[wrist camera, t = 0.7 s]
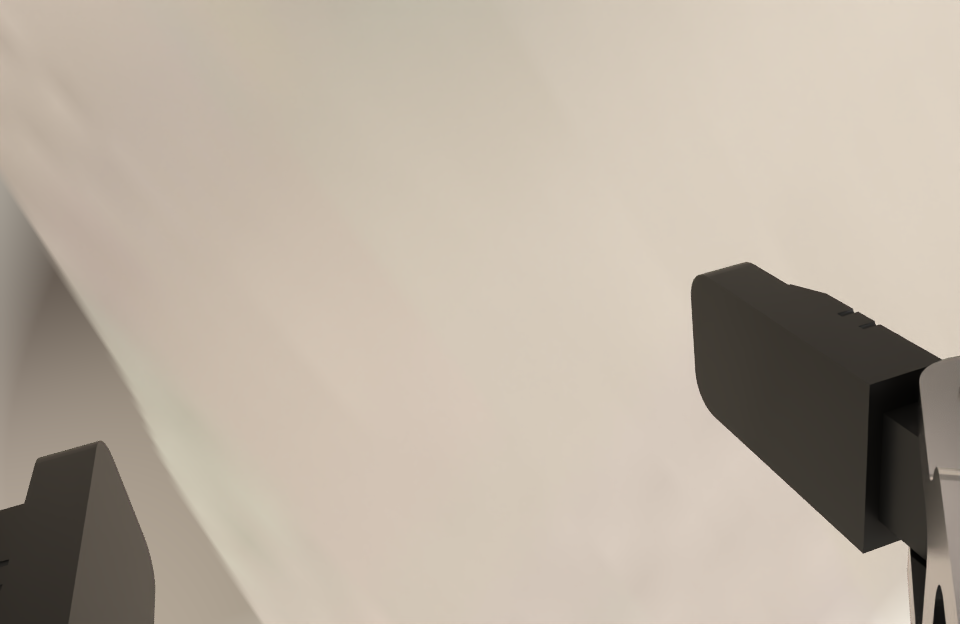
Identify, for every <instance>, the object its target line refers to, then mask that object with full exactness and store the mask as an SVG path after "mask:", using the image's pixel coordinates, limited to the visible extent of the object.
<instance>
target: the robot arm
mask: <svg viewBox="0 0 960 624" xmlns="http://www.w3.org/2000/svg"><path fill="white" fill-rule="evenodd" d="M691 304H692V321H693V338H694V355H695V372H696V379H697V384H698V388H699V391H700V394H701V396H702V399H703V401H704V403H705V405H706V406H707V408H708V409H709V411H710V412H711V413H712V415H713V416H714V417H715V418H716V419H718V420H719V421H720V422H721V423H722V424H723V425H724V426H725V427H726V428H727V429H728V430H730V431H731V432H732V433H733V434H734V435H735V436H736V437H737V438H738V439H739V440H740V441H742V442H743V443H744V444H745V445H746V446H747V447H748V448H749V449H750V450H751V451H752V452H753V453H755V454H756V455H757V456H758V457H759V458H760V459H761V460H762V461H763V462H764V463H765V464H767V465H768V466H769V467H770V468H771V469H772V470H773V471H774V472H775V473H776V474H777V475H778V476H780V477H781V478H782V479H783V480H784V481H785V482H786V483H787V484H788V485H789V486H790V487H792V488H793V489H794V490H795V491H796V492H797V493H798V494H799V495H800V496H801V497H802V498H803V499H805V500H806V501H807V502H808V503H809V504H810V505H811V506H812V507H813V508H814V509H815V510H817V511H818V512H819V513H820V514H821V515H822V516H823V517H824V518H825V519H826V520H827V521H828V522H830V523H831V524H832V525H833V526H834V527H835V528H836V529H837V530H838V531H839V532H840V533H842V534H843V535H844V536H845V537H846V538H847V539H848V540H849V541H850V542H851V543H852V544H853V545H855V546H856V547H857V548H858V549H859V550H860V551H861V552H862V553H866V552H869V551H872V550H874V549H877V548H880V547H883V546H885V545H888V544H891V543H894V542H896V541H899V540H902V541H903V542H905V543H906V544H907V545H908V546H909V549H908V565H907V577H908V591H909V606H910V621H911V624H960V356H956V357H951V358H947V359H943V360H942V359H940V358H938V357H936V356H935V355H933V354H931V353H929V352H928V351H926V350H924V349H922V348H921V347H919V346H917V345H915V344H914V343H912V342H910V341H908V340H907V339H905V338H903V337H901V336H900V335H898V334H896V333H894V332H893V331H891V330H889V329H887V328H886V327H884V326H882V325H877V326H876V325H875V321H873V320H872V319H870V318H868V317H866V316H865V315H863V314H861V313H859V312H856V313H854V311H853V309H852V308H851V307H849V306H847V305H845V304H844V303H842V302H840V301H838V300H837V299H835V298H833V297H831V296H830V295H828V294H825V293H822V292H818V291H814V290H810V289H806V288H803V287H799V286H795V285H791V284H790V285H788V284H786V283H784V282H783V281H781V280H779V279H778V278H776V277H774V276H772V275H771V274H769V273H767V272H766V271H764V270H762V269H761V268H759V267H757V266H756V265H754V264H752V263H749V262H744V263H740V264H737V265H733V266H730V267H726V268H722V269H719V270H715V271H712V272H708V273H704V274H701V275H698V276H696V278H695V279H694V281H693V283H692V288H691ZM154 607H155V579H154V572H153V567H152V562H151V557H150V553H149V550H148V547H147V544H146V541H145V538H144V535H143V533H142V530H141V528H140V525H139V523H138V520H137V518H136V515H135V512H134V510H133V507H132V505H131V502H130V500H129V497H128V495H127V492H126V490H125V487H124V485H123V482H122V480H121V477H120V475H119V472H118V470H117V467H116V465H115V462H114V460H113V457H112V455H111V453H110V451H109V449H108V447H107V446H106V444H105V443H104V442H102V441H98V442H94V443H90V444H87V445H84V446H80V447H76V448H72V449H69V450H65V451H62V452H58V453H54V454H51V455H47V456H44V457H40V458H38V459H37V461H36V463H35V466H34V470H33V474H32V477H31V481H30V485H29V489H28V492H27V496H26V500H25V503H24V504H21V505H18V506H14V507H10V508H7V509H4V510H0V624H154Z"/></svg>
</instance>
